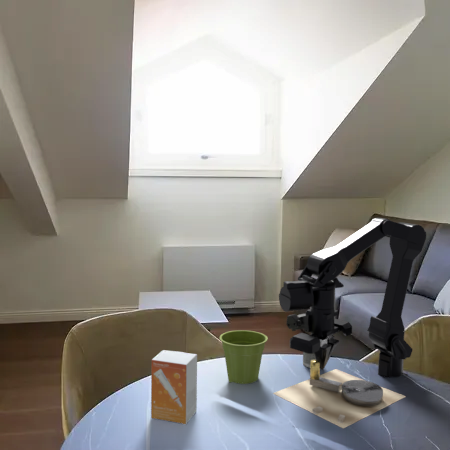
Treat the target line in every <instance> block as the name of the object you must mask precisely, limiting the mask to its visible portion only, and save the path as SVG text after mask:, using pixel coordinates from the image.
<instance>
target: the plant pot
mask: <svg viewBox="0 0 450 450" xmlns="http://www.w3.org/2000/svg"><path fill="white" fill-rule="evenodd" d="M219 340H220V342H221V344H222V350H223V352H224V359H225V366H226V373H227V379H228V380H227V381H228V382H229V383H235V384H241V385H246V384H247V385H248V384H252V383H255V382H258V380H259V375H260V368H261V365H262V359H263V352H264V350H265V345H266V342H268V335H266V334H264V333H262V332H258V331H255V330H254V331H253V330H241V329H238V330H230V331H226V332H224V333H221V334H220V336H219Z"/></svg>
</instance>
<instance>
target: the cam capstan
mask: <svg viewBox="0 0 450 450" xmlns="http://www.w3.org/2000/svg"><path fill="white" fill-rule="evenodd" d="M320 370H321V369H320V361H318V360H311V365H310V371H309V372H310V373H309V376H310V378H309V379H310V385H313V386H316V387H320V388H324V389H327V390H331V391H335V392H340V391H341V390H342V394H341V395H342V397H343V398H344V399H345V400H346V401H348V402H350V403H353V404H356V405H361V406H374V405H378V404H380V403H381V402H382V401H383V389H382V388H381V387H382V386H381V387H380V385H379V384H377V383H375V382H373V381H368V380H365V379H363V380H350V381H346V382H344V383H343V384H342V383H341V382H337V381H333V380H329V379H325V378H321V377H320V375H321V374H320V373H321V371H320ZM364 380H365V381H364Z"/></svg>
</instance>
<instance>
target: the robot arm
mask: <svg viewBox="0 0 450 450" xmlns="http://www.w3.org/2000/svg"><path fill="white" fill-rule="evenodd" d="M384 237H386V238H388V239H389V247H390V251H391V254H392V259H391V264H390V269H389V272H388V277H387V281H386V287H385V292H384V296H383V300H382V301H383V302H382V305H381V310H380V312H379V313H378V314H377V315H376V316H374V315H373V316H372V315H371V316H370V320H369V325H368V326H369V327H368V328H367V329H366V330H367V332H368V338H369V340H370V341H371V343H372V345H373V346H372V347H373V349H376V350H378V351H379V353H378V365H377V366H378V368H377V375H378V376H380V377H384V378H398V377H402V376H408V377H409V374H408V373H406V372H404V361H405V360H406V359H407V358H411V356H412V353H413V348H412V347H411V345H409V344H408V342H407V340H405V330H406V329H405V324H404V322H403V317H402V314H403V309H404V304H405V302H406V297H407V296H406V295H407V291H408V286H409V282H410V278H411V272H412V268H413V263H414V260H415V259H416V258H417V257H418V256H419V255H420V254H421V253H422V251H423V249H424V245H425V243H426V240H427V232H426V231H425V227H423V226H422V225H419V224H416V223H407V222H395V221H392V220H391V219H387V218H382V217H375V218H372V220H371V221H370V222H369V223H368V224H365V225H364V226H363V227H362V228H360V229H359V230H357V231H356V232H354V233H352V234H351V235H350V236H348V237H347V238H345V239H344V240H343V241H341V242H339V243H338V244H336V245H334V246H331V247H327V248H323V249H321V250H318V251H316V252H314V253H312V254H311V255H309V256H308V258H307V263H306V265H305V266H304V267H303V270H302V271H301V273H300V274H299V276H298V278H297V280H295V281H294V280H293V281H290V280H288V281H287V280H286V281H284V282H283V287H281V288H280V291H279V294H278V302H279V305H280V307H281V310H283V311H284V312H292V311H293V312H294V311H303V310H306V311H305V313H301V314H298V315H297V313H294V314H289V315H287V316H286V326H287V328H288V329H290V330H291V331H292V332H295V331H297V330H304V332H306V333H304V332H299V333H298V334H295V335H293V336H291V337H290V339H289V348H290V349H293V350H295V351H298V352H302V353H303V352H305V353H308V354H313V353H314V354H315V357H316V360H318V361H320V370H323V371H324V369H325V367H326V366H327V364H328V362H329V360H330V358H331V357H332V354H333V352H334V351H335V349H336V347H337V346H338V344H340V340H339V339H336V338H335V336H334V335H335V334H338V333H339V332H342V334H343V335H344V336H345V337H347V336H350V335H352V334H353V326H352V324H351V323H350V321H346V320H341V319H338V318H336V316H339V310H338V309H337V310H336V289H340V288H344V284H343V283H342V282H341V281H340V280H339V279H338V276H340V274H342V273H343V272H344V271H345V269H346V267H347V266H348V264H349V262H350V261H352V260H353V259H354V258H356V257H357V256H358V255H360V254H361V253H363V252H364V251H366V250H367V249H369V248H370V247H371V246H373V245H374V244H376V243H377V242H379V241H380V240H381V239H383V238H384ZM312 276H313V277H312ZM308 333H310V334H308Z"/></svg>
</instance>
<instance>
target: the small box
mask: <svg viewBox="0 0 450 450" xmlns="http://www.w3.org/2000/svg"><path fill="white" fill-rule="evenodd" d="M150 368H151V370H150V371H151V376H150V377H151V379H150V380H151V381H150V382H151V383H150V385H151V388H150V390H151V391H150V393H151V394H150V401H151V402H150V404H151V405H150V408H151V409H150V410H151V411H150V413H151V415H150V416H151V417H150V418H151V419H154V420H161V421H166V422H167V421H168V422H172V423H177V424H183V425H187V424H188V422H190V419H192V418H193V416H194V415H195V413H196V412H197V408H198V407H197V403H198V401H197V400H198V398H197V397H198V395H197V394H198V389H197V388H198V354H197V353H188V352H185V351H184V352H183V351H177V350H176V351H175V350H165V349H163V350H161V351H160V352H159V353H158V354H157V355H156V356H154V357H153V358H152V359H151V367H150Z"/></svg>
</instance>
